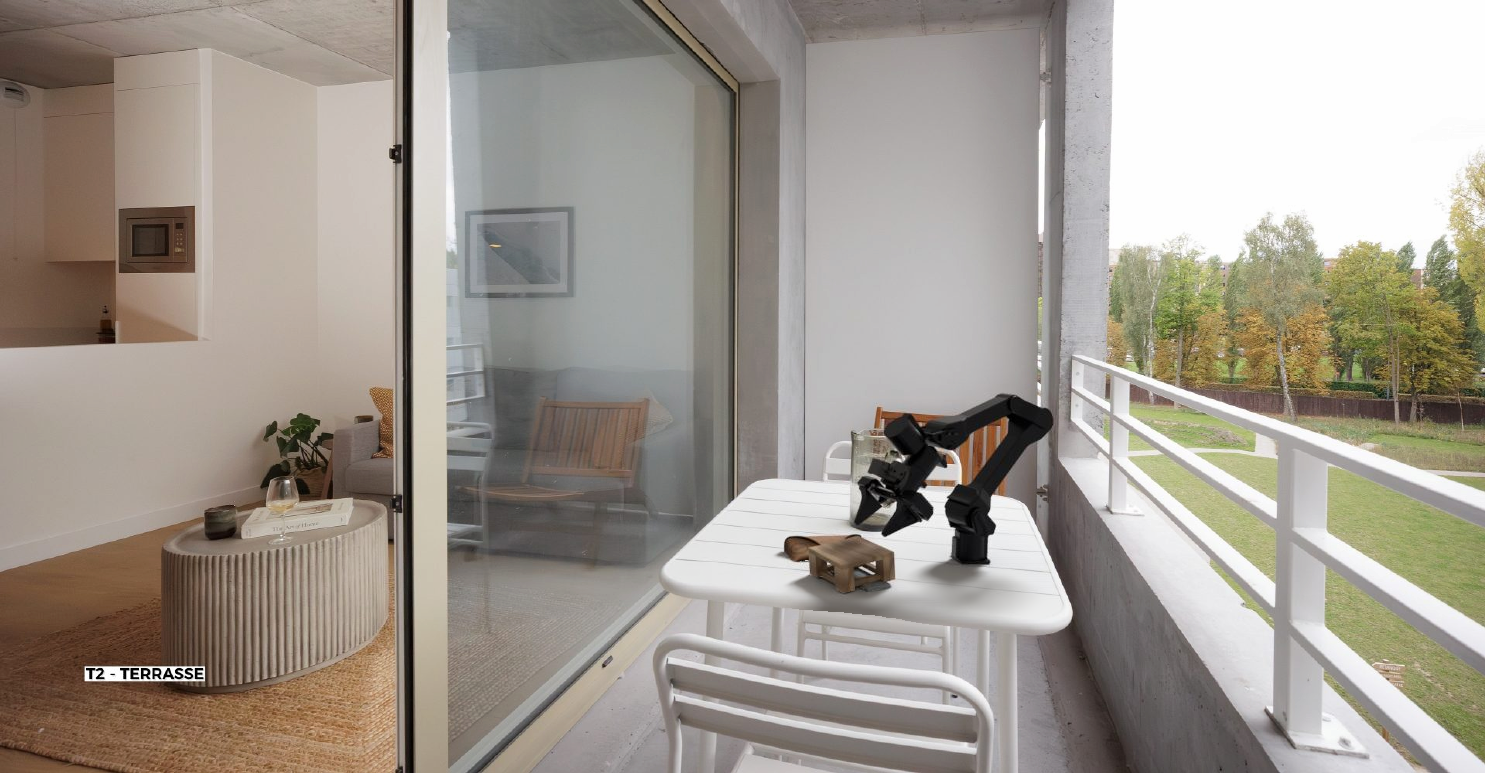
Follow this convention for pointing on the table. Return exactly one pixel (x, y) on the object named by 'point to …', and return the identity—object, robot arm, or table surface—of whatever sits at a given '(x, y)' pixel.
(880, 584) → the strip
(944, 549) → the table surface
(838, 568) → the wood grain block
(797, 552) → the sunglasses case
